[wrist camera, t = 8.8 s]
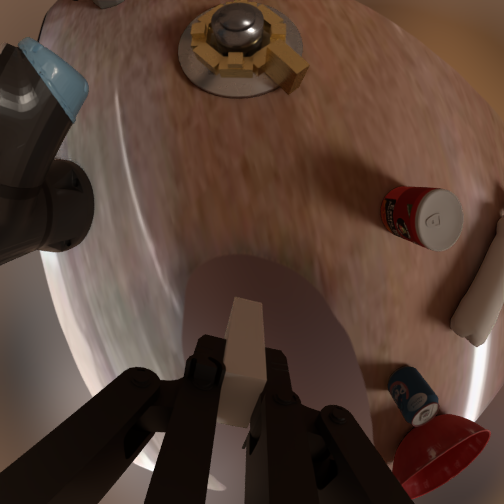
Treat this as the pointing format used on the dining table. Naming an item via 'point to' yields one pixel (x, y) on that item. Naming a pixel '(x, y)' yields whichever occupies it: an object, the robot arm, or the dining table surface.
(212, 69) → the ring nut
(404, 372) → the soda can
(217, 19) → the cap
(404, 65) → the dining table surface
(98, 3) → the coffeepot
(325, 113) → the dining table surface
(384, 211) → the canned food
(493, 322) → the bottle
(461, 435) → the mixing bowl
